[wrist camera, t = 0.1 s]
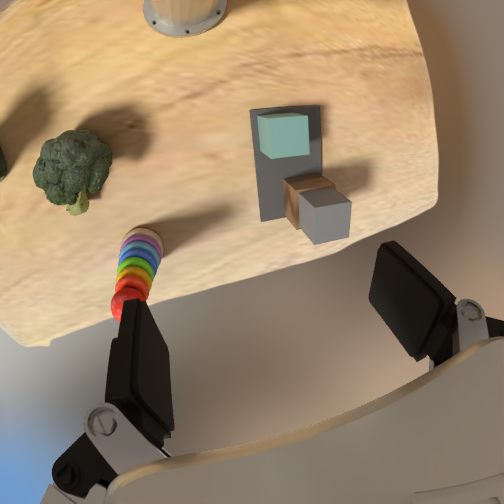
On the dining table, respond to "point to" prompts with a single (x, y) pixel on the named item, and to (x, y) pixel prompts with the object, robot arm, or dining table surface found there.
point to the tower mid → (324, 215)
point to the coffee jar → (2, 166)
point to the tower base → (297, 186)
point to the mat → (284, 161)
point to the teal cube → (283, 135)
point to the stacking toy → (136, 267)
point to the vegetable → (72, 169)
